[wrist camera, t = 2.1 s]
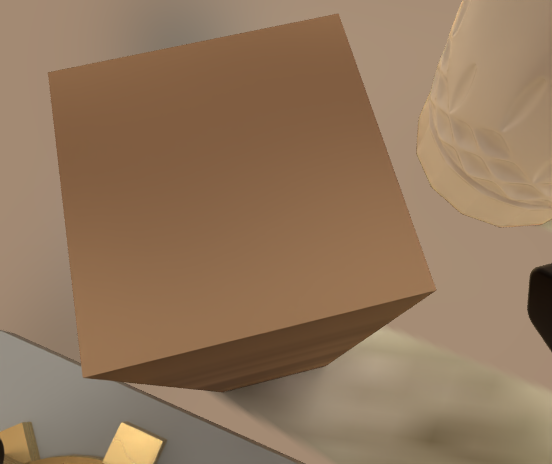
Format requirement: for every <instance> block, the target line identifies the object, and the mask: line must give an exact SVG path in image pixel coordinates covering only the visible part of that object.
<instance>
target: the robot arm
mask: <svg viewBox="0 0 552 464" xmlns="http://www.w3.org/2000/svg"><path fill="white" fill-rule="evenodd" d="M527 308H528V309H527V310H528V315H529V318H530V320H531V322H532V324H533V325H534V327H535V328H536V330H537V331H538V332H539V334H540V335H541V337H542V338H543V340H544V341H545V343H546V344H547V346H548V347H549V349H550V350H551V352H552V264H547V265H543V266H540V267H536V268H535V269H533V270H532V272H531V274H530V280H529V293H528V305H527ZM4 456H5V452H4V445H3V442H2V440H1V438H0V464H4Z"/></svg>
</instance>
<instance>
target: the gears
mask: <svg viewBox="0 0 552 464" xmlns="http://www.w3.org/2000/svg"><path fill="white" fill-rule="evenodd" d="M0 438H1V440H2V442H3V445H4V452H5V456H4V464H157V462H158V460H159V457H160V455H161V453H162V450H163V448H164V446H165V444H166V441H167V439H165V438H163V437H160V436H158V435H156V434H154V433H152V432H150V431H147V430H145V429H143V428H141V427H139V426H136V425H134V424H132V423H130V422H128V421H125V422H121V424H120V426H119V428H118V430H117V432H116V434H115V436H114V438H113V440H112V443H111V445H110V447H109V449H108V451H107V453H106V455H105V457H104V458H103V457H98V456H92V455H77V454H74V455H60V456H53V457H48V458H44V459H40V455H39V451H38V447H37V443H36V439H35V435H34V430H33V426H32V422H22V423H20V424H17V425H15V426H12V427H10V428H8V429H5V430H3V431H1V432H0Z"/></svg>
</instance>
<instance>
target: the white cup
mask: <svg viewBox="0 0 552 464" xmlns="http://www.w3.org/2000/svg"><path fill="white" fill-rule="evenodd" d="M417 134H418V135H417V148H416V154H417V156H418V158H419V161H420V163H421V165H422V167H423V170H424V172H425V174H426V176H427V179H428V181H429V183H430V185H431V187H432V188H433V189H434V190H435V191H436V192H437V193H439V194H440V195H441V196H442V197H443V198H445V200H446V201H448V202H449V203H450V204H451V205H452V206H453V207H454V208H455V209H456V210H458V211H459V212H460V213H461V214H463V215H466V216H469V217H472V218H475V219H478V220H480V221H483V222H487V223H489V224H492V225H495V226H498V227H516V226H530V225H542V224H544V223H546V222H548V221H549V220H551V219H552V0H462V2H461V5H460V7H459V10H458V12H457V15H456V17H455V20H454V22H453V25H452V28H451V31H450V34H449V37H448V40H447V44H446V46H445V48H444V51H443V53H442V56H441V58H440V60H439V63H438V66H437V69H436V73H435V76H434V80H433V83H432V87H431V91H430V93H429V95H428V98H427V100H426V103H425V105H424V107H423V110H422V112H421V114H420V117H419V120H418V133H417Z"/></svg>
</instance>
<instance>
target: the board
mask: <svg viewBox="0 0 552 464" xmlns="http://www.w3.org/2000/svg"><path fill="white" fill-rule="evenodd" d="M125 421H128V422H130V423H132V424H134V425H136V426H139V427H141V428H143V429H145V430H147V431H150V432H152V433H154V434H156V435H158V436H160V437H163V438H165V439H167V441H166V444H165V446H164V448H163V450H162V453H161V455H160V457H159V460H158V462H157V464H305V463H303V462H301V461H298V460H296V459H294V458H292V457H289V456H287V455H284V454H283V453H280V452H278V451H276V450H274V449H271V448H269V447H267V446H265V445H262V444H260V443H258V442H256V441H254V440H251V439H249V438H247V437H245V436H242V435H240V434H238V433H235V432H233V431H231V430H229V429H227V428H224V427H222V426H220V425H218V424H215V423H213V422H211V421H209V420H207V419H204V418H202V417H200V416H197V415H195V414H193V413H191V412H188V411H186V410H184V409H182V408H180V407H177V406H175V405H173V404H171V403H168V402H166V401H164V400H162V399H159V398H157V397H155V396H153V395H151V394H148V393H146V392H144V391H142V390H139V389H137V388H135V387H132V386H130V385H128V384H126V383H124V382H118V381H108V380H98V379H89V378H83V376H82V367H81V363H79V362H77V361H74V360H72V359H70V358H68V357H65V356H63V355H61V354H59V353H56V352H54V351H52V350H50V349H48V348H45V347H43V346H41V345H39V344H36V343H34V342H32V341H30V340H27V339H25V338H23V337H21V336H18V335H16V334H14V333H10V332H6V331H2V330H0V432H1V431H3V430H5V429H8V428H10V427H12V426H15V425H17V424H20V423H22V422H32V426H33V430H34V435H35V439H36V443H37V447H38V451H39V455H40V459H44V458H48V457H53V456H60V455H74V454H77V455H92V456H98V457H103V458H104V457H105V455H106V453H107V451H108V449H109V447H110V445H111V443H112V440H113V438H114V436H115V434H116V432H117V430H118V428H119V426H120V424H121V422H125Z"/></svg>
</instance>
